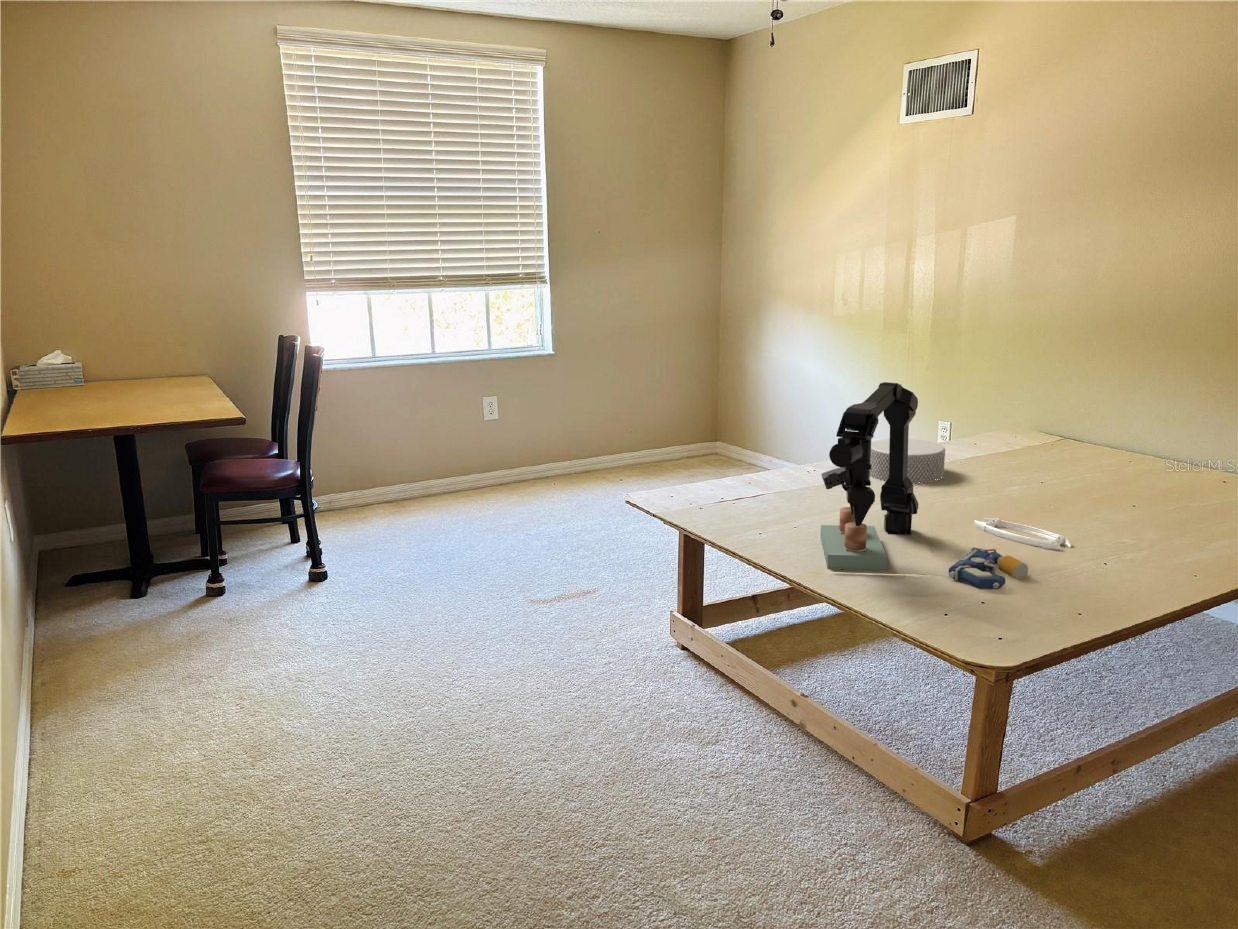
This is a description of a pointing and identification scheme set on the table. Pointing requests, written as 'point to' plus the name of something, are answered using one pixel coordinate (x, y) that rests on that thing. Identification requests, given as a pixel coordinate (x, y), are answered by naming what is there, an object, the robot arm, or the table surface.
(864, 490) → the robot arm
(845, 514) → the seated peg
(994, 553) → the spray gun
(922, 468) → the knob
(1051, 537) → the door handle
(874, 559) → the board
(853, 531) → the peg
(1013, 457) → the table surface
